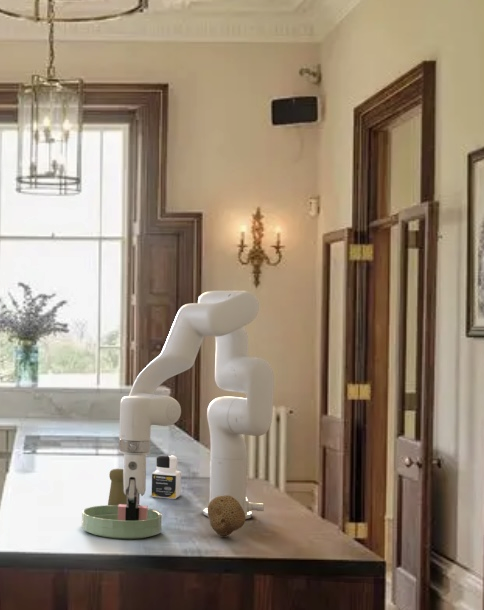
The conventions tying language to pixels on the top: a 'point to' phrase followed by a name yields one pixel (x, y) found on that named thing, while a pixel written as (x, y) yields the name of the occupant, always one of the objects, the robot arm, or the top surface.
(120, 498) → the cork
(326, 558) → the top surface
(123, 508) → the eraser
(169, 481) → the medicine bottle
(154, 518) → the bowl
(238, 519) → the natural sponge
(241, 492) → the robot arm
